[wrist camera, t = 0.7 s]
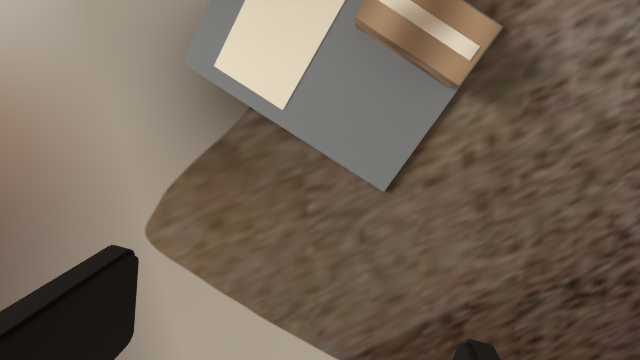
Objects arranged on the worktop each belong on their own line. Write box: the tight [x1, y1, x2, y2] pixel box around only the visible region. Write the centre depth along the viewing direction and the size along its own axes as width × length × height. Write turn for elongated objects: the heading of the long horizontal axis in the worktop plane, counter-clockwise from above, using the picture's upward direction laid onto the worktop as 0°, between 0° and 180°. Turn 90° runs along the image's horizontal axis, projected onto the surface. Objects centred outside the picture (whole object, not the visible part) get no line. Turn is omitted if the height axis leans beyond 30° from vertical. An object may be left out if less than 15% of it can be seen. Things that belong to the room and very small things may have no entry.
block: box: [355, 0, 501, 87], centre depth 27 cm, size 10×5×4 cm, turn 58°
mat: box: [182, 0, 503, 192], centre depth 30 cm, size 24×18×1 cm
